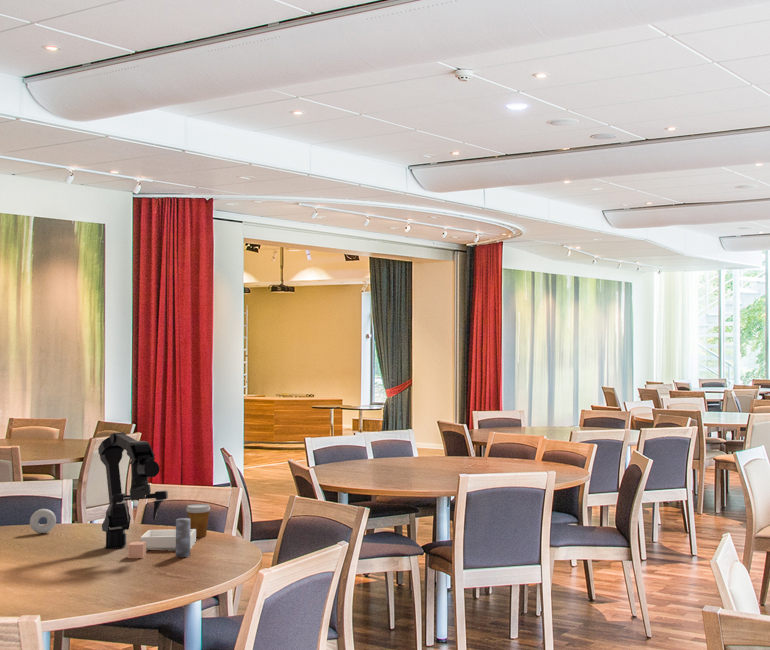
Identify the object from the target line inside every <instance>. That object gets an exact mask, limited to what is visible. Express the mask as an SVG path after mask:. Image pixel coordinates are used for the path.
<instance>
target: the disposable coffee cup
mask: <svg viewBox="0 0 770 650" xmlns="http://www.w3.org/2000/svg"><path fill="white" fill-rule="evenodd" d="M185 510H186V512H187V518H189V519H190V529H196V537H199V538H203V537H204V536H205V537H207V533H208V532H207V531H208V526H209V525H208V524H209V516H210V511H211V510H212V509H211V507H210V505H209V504H206V503H195V504H189V505H187V508H186V509H185ZM205 537H204V538H205Z"/></svg>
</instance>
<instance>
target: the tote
mask: <svg viewBox="0 0 770 650" xmlns="http://www.w3.org/2000/svg"><path fill="white" fill-rule="evenodd" d="M140 542H146V550H168V551H176V528H175V529H148V530H147V531H146V532H145V533H144V534H143V535H141V536H140ZM195 542H196V543H197V538H196V529H190V549H191V550H192V548H193V547H194V546H195V545H196V543H195ZM193 545H194V546H193ZM192 546H193V547H192Z"/></svg>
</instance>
